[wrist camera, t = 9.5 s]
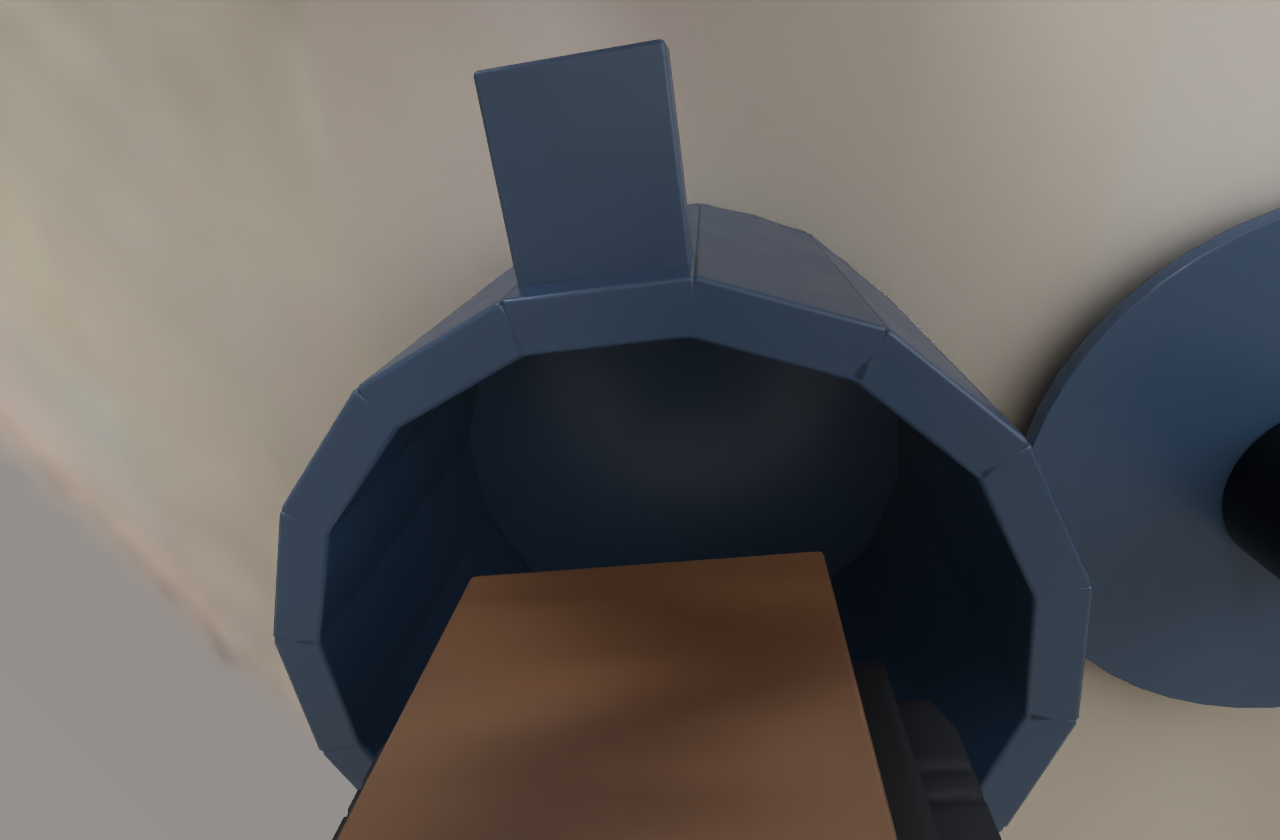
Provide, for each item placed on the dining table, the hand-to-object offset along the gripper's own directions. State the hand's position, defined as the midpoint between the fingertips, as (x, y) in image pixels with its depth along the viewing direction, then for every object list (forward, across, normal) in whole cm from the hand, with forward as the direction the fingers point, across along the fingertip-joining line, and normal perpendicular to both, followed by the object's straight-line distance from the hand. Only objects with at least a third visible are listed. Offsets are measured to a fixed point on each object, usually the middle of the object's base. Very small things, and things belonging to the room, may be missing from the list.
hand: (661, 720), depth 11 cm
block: (0, 0, 0) cm, 0 cm away
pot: (+9, 0, 0) cm, 9 cm away
